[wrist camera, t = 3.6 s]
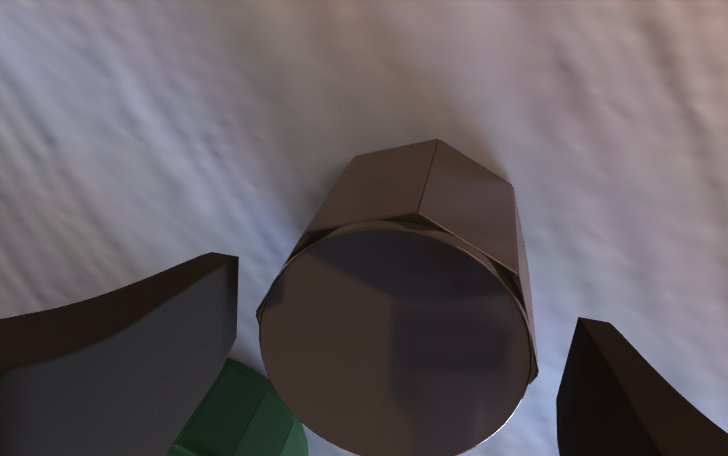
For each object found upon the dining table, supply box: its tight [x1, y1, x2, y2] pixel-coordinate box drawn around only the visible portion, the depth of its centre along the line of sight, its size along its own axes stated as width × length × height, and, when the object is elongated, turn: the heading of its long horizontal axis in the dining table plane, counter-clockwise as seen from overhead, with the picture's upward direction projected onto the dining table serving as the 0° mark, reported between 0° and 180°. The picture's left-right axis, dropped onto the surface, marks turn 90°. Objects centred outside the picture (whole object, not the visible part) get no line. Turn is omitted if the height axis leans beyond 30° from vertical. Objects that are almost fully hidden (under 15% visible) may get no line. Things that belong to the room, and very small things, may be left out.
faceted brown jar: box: [256, 139, 539, 456], centre depth 16 cm, size 5×5×6 cm
